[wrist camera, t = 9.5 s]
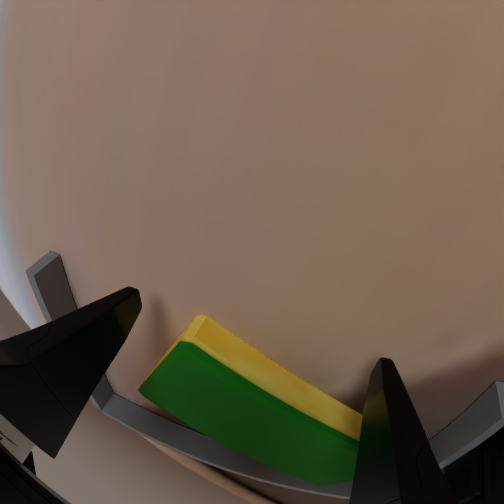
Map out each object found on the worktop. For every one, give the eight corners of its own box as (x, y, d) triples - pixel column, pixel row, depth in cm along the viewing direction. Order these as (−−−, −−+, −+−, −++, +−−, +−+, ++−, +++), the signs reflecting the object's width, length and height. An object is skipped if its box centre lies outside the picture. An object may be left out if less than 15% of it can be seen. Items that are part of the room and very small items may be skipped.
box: (506, 382, 9) (513, 418, 8) (378, 480, 17) (375, 501, 16) (50, 250, 14) (25, 271, 12) (108, 393, 22) (96, 409, 21)
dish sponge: (327, 459, 18) (319, 487, 16) (156, 362, 17) (135, 393, 15) (409, 433, 14) (407, 469, 12) (204, 303, 12) (177, 345, 11)
